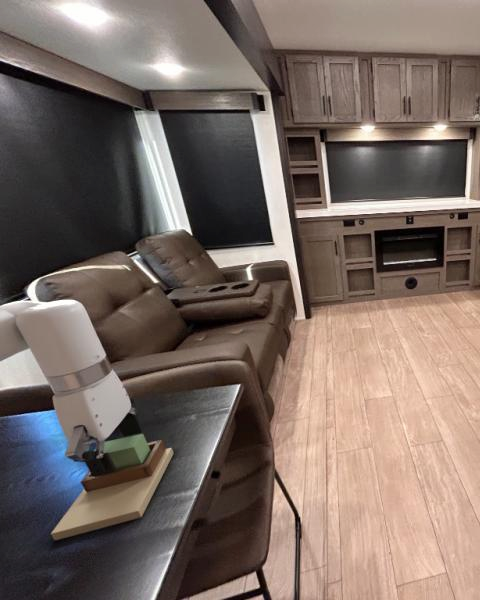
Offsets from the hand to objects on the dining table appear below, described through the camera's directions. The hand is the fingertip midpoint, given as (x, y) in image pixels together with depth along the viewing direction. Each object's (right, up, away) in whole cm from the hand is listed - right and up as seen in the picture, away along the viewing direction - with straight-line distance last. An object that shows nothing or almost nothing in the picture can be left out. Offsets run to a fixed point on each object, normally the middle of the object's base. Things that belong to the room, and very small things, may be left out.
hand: (120, 452), depth 59 cm
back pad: (0, -4, +1) cm, 4 cm away
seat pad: (+1, -7, -1) cm, 7 cm away
